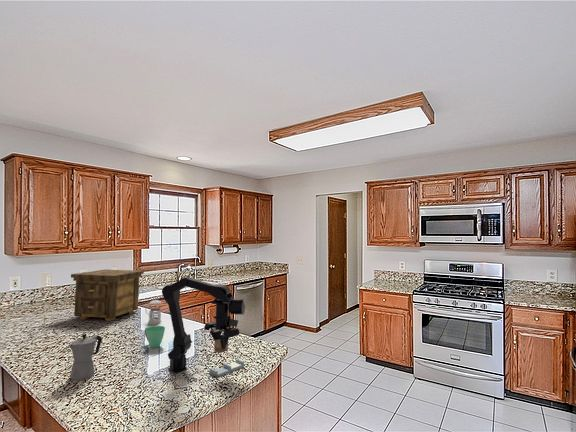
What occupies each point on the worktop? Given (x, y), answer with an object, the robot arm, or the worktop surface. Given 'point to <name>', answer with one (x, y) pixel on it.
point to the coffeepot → (84, 357)
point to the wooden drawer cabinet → (106, 293)
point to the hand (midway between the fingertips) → (221, 348)
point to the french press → (156, 309)
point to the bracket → (227, 368)
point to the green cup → (154, 335)
